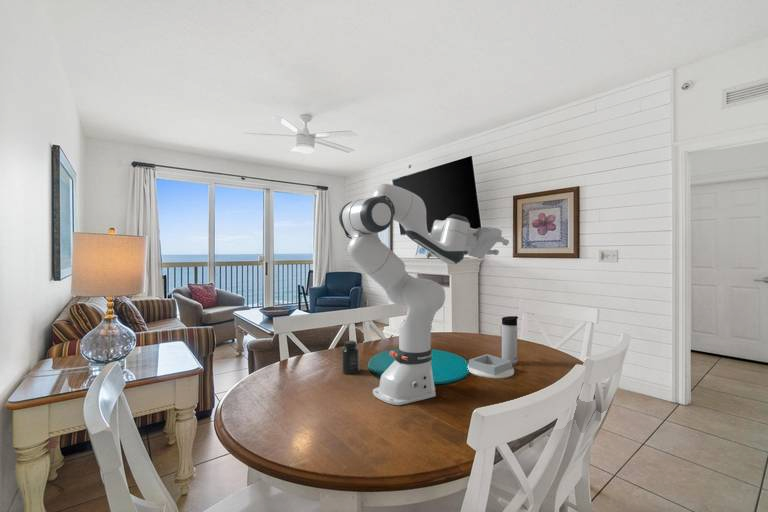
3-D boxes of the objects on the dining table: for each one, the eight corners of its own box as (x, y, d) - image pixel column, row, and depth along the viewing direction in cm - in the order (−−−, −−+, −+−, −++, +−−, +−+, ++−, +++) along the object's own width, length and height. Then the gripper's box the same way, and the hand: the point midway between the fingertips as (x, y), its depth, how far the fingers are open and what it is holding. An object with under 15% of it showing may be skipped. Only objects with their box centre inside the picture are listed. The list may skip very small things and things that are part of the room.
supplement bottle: (360, 369, 146) (360, 339, 146) (357, 374, 140) (357, 344, 139) (343, 368, 147) (343, 339, 147) (340, 374, 140) (339, 344, 140)
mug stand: (496, 382, 131) (496, 371, 131) (458, 369, 145) (458, 359, 145) (523, 371, 142) (523, 361, 142) (484, 360, 156) (484, 351, 156)
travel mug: (520, 365, 149) (520, 317, 148) (504, 365, 149) (504, 317, 149) (515, 360, 155) (515, 315, 155) (499, 360, 155) (499, 315, 155)
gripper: (480, 219, 135) (515, 229, 135) (462, 243, 154) (493, 251, 154) (478, 233, 133) (514, 243, 133) (460, 256, 151) (492, 264, 151)
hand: (502, 248), depth 144 cm, fingers open, 8 cm apart
